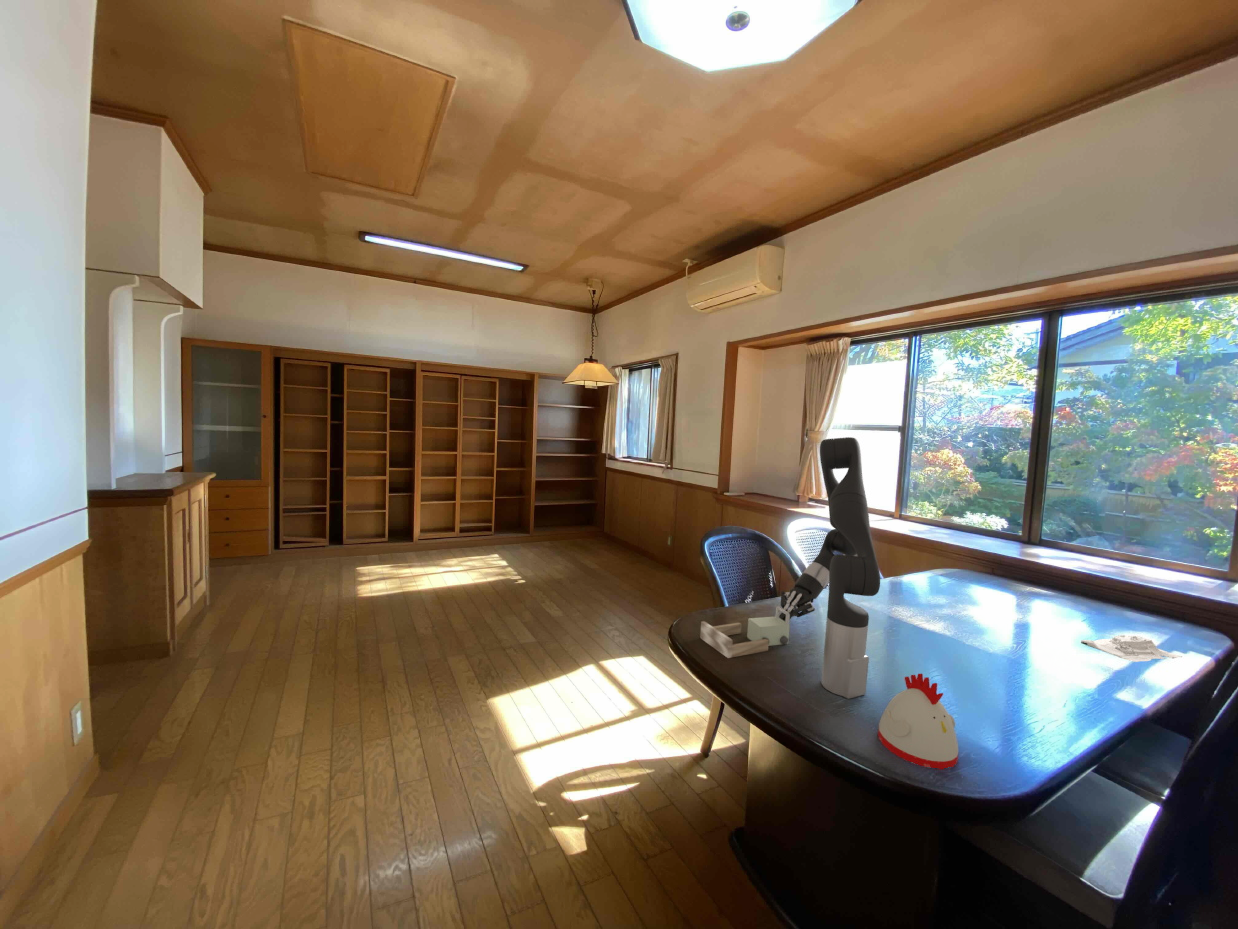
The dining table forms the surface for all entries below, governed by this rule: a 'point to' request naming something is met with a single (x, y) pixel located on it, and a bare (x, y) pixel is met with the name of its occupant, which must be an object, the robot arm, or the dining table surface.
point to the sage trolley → (770, 628)
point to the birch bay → (730, 640)
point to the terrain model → (1130, 648)
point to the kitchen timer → (919, 726)
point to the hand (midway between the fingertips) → (780, 622)
